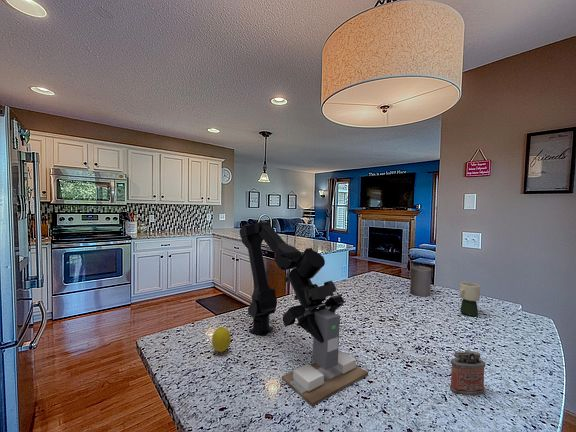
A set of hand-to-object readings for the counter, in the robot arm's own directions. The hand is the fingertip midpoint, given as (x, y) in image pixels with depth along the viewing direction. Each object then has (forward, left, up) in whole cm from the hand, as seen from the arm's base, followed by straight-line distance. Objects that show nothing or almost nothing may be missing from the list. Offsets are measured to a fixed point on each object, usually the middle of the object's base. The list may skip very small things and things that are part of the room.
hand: (329, 339), depth 72 cm
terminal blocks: (-1, -1, -9) cm, 9 cm away
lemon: (+1, -34, -11) cm, 35 cm away
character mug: (-68, +42, -11) cm, 81 cm away
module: (-1, -1, -7) cm, 7 cm away
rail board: (-1, -1, -11) cm, 11 cm away
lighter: (-10, +32, -11) cm, 36 cm away
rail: (-1, -1, -11) cm, 11 cm away
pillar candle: (-89, +24, -11) cm, 93 cm away
